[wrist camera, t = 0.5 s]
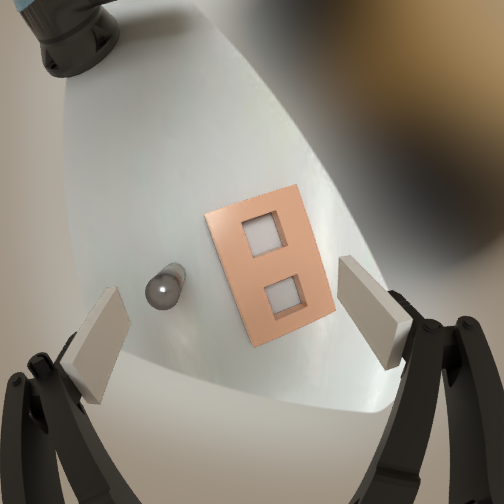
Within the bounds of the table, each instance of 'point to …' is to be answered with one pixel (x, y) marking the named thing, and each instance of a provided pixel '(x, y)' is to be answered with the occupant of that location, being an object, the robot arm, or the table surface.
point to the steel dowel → (165, 287)
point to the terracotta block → (271, 264)
